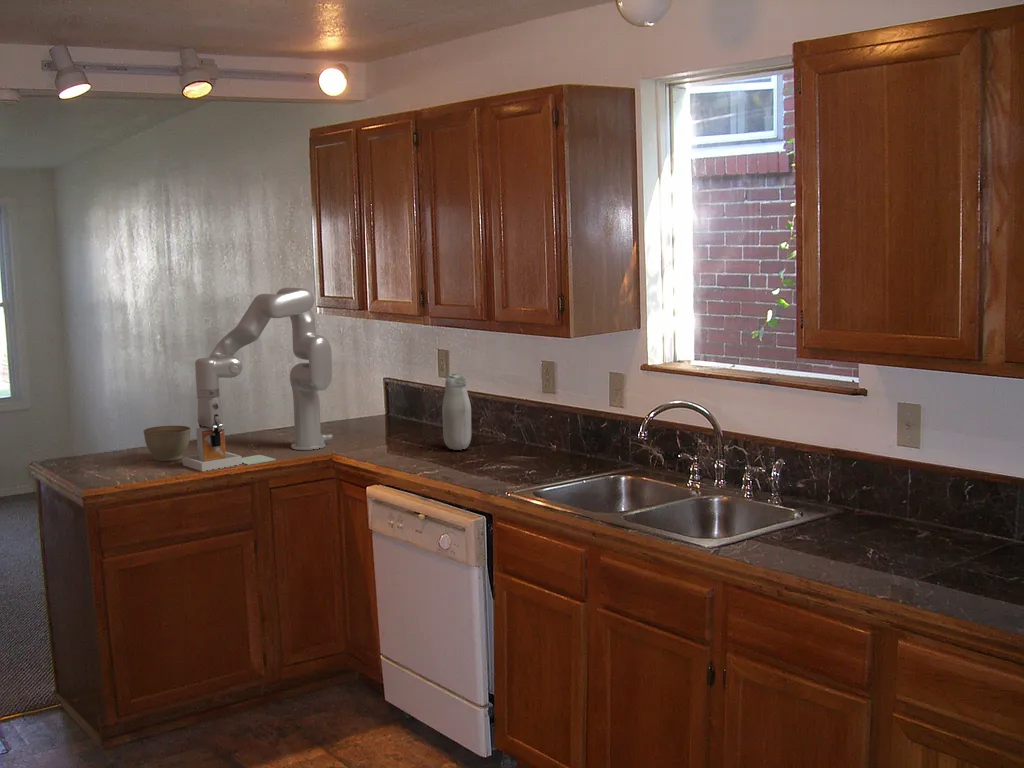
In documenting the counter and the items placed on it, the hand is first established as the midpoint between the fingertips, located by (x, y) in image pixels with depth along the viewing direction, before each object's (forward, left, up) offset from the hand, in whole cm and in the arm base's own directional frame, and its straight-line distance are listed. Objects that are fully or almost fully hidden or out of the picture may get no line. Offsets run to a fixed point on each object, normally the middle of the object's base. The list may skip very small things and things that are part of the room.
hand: (211, 444), depth 374 cm
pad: (-14, +4, -7) cm, 16 cm away
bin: (0, 0, -7) cm, 7 cm away
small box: (0, 0, -8) cm, 8 cm away
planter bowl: (+6, -21, -8) cm, 23 cm away
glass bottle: (-75, +43, -8) cm, 87 cm away
